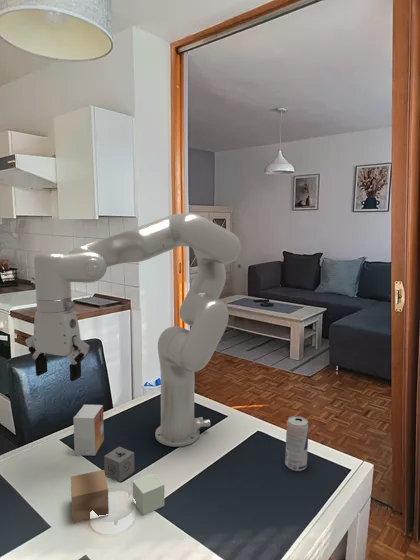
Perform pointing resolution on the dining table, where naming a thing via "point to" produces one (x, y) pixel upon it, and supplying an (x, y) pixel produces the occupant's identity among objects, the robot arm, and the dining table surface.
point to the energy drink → (296, 443)
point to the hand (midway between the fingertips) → (58, 376)
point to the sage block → (148, 493)
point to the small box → (88, 430)
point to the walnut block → (89, 495)
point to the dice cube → (119, 463)
